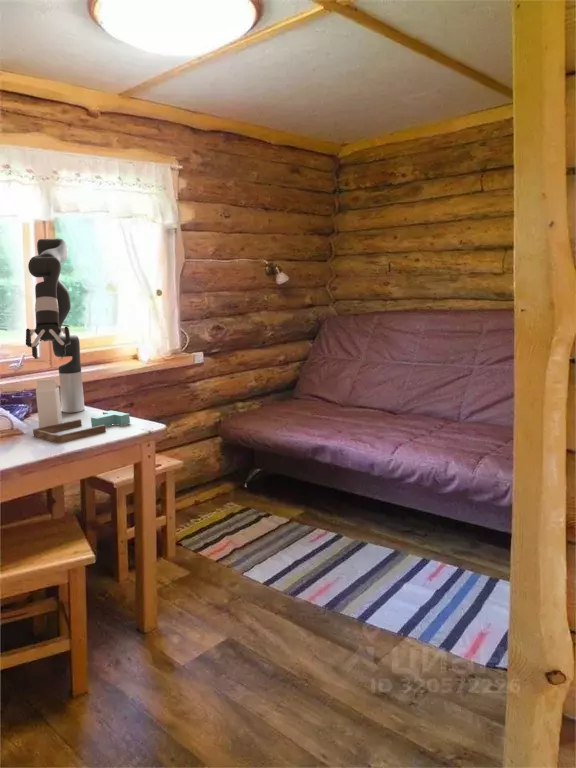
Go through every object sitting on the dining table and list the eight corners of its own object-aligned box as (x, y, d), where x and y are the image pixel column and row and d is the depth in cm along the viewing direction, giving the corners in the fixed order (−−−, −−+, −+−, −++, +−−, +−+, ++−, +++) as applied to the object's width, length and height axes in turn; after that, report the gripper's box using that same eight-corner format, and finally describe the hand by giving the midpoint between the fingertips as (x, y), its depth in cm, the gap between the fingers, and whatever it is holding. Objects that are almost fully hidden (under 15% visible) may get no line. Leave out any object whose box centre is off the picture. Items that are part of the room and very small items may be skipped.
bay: (33, 436, 223) (32, 429, 222) (79, 425, 237) (79, 419, 237) (58, 443, 212) (58, 436, 211) (105, 431, 226) (105, 425, 226)
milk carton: (58, 428, 233) (54, 380, 229) (39, 430, 232) (34, 381, 228) (62, 424, 240) (58, 377, 236) (43, 425, 239) (39, 378, 235)
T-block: (86, 425, 236) (85, 416, 236) (112, 419, 245) (111, 410, 245) (103, 430, 229) (103, 419, 228) (130, 423, 238) (129, 413, 237)
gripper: (70, 314, 214) (72, 358, 212) (27, 316, 211) (29, 361, 209) (67, 308, 207) (69, 354, 204) (22, 310, 204) (24, 356, 201)
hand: (49, 357), depth 207 cm, fingers open, 8 cm apart
